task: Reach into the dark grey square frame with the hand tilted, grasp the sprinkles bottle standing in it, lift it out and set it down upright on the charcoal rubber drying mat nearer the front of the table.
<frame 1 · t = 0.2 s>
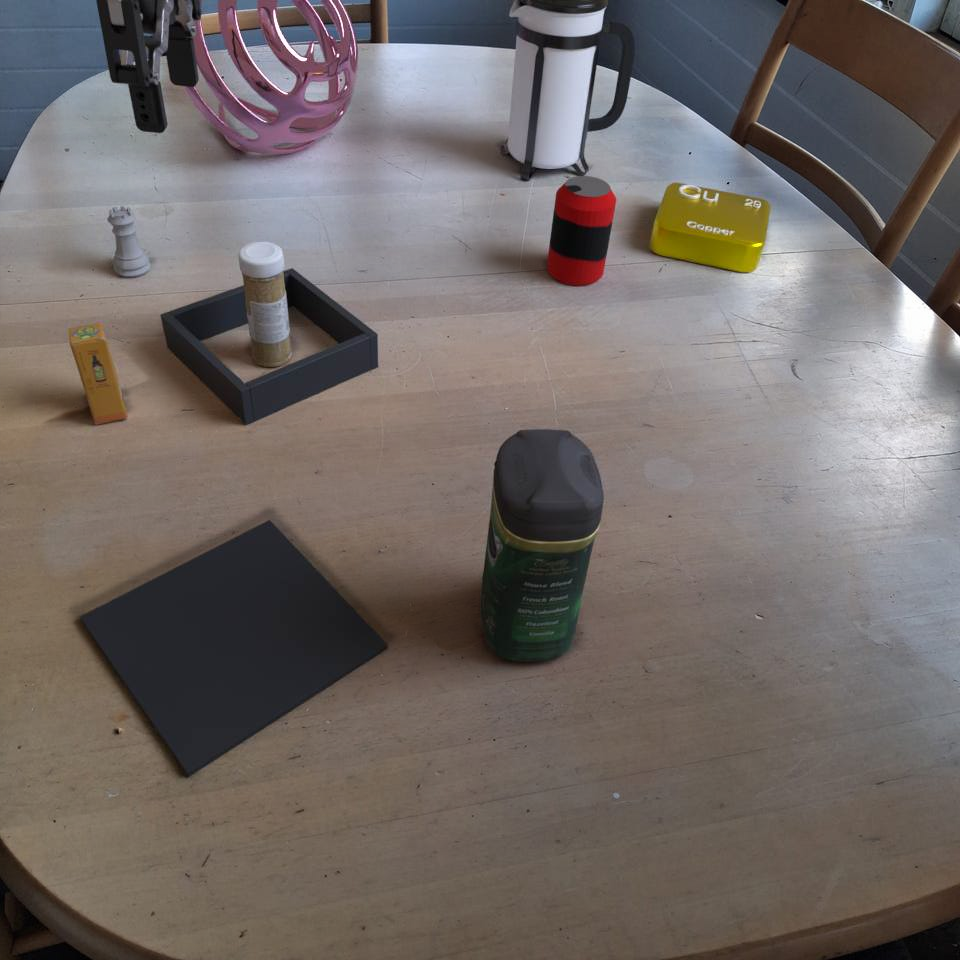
hand: (169, 106, 72), 32 cm above the table, tool pointing down, fingers open, 8 cm apart
drying mat: (234, 634, 74), on the table
coffee press: (549, 163, 144), on the table
rook chess piece: (133, 271, 114), on the table
sprinkles bottle: (272, 358, 102), resting in dark grey square frame
spiral basket: (278, 144, 143), on the table
element tile: (706, 241, 129), on the table
dark grey square frame: (272, 357, 102), on the table
supplement box: (110, 414, 94), on the table
coffee jar: (525, 621, 78), on the table
soda can: (574, 273, 120), on the table
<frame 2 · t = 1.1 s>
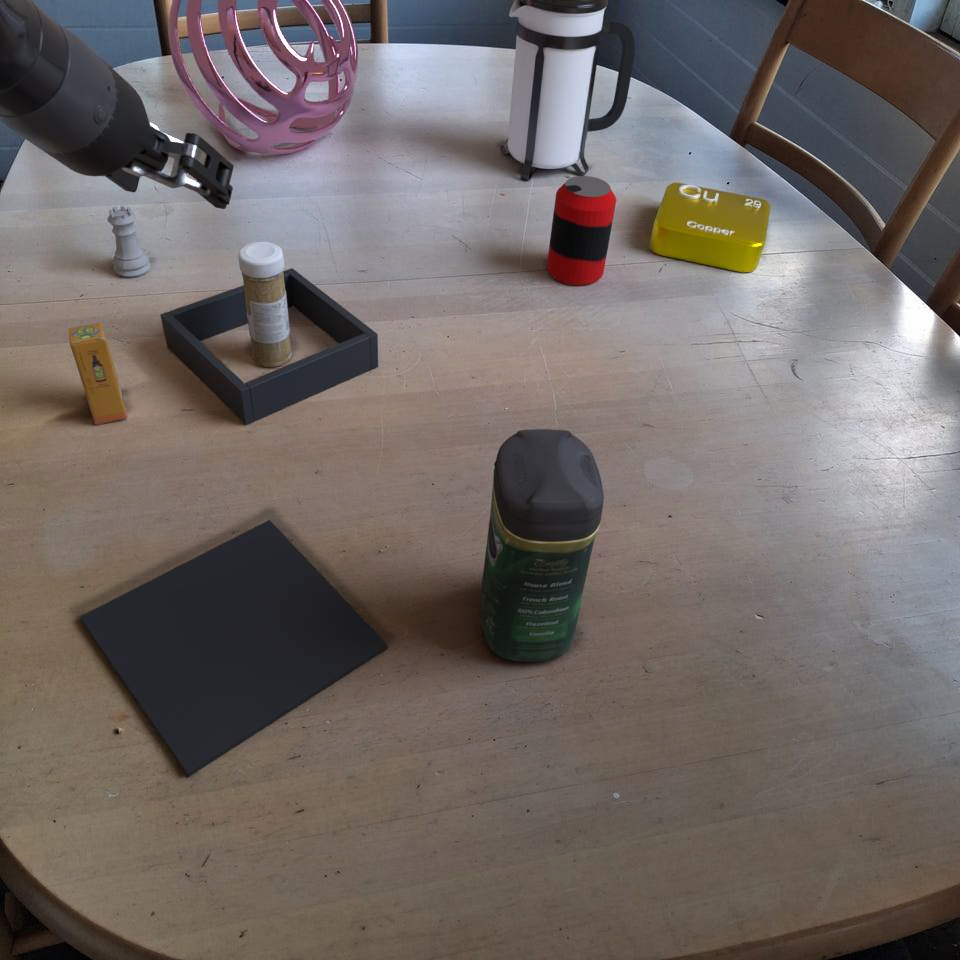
hand: (179, 189, 77), 25 cm above the table, tool tilted 45°, fingers open, 8 cm apart
nothing on the table moved.
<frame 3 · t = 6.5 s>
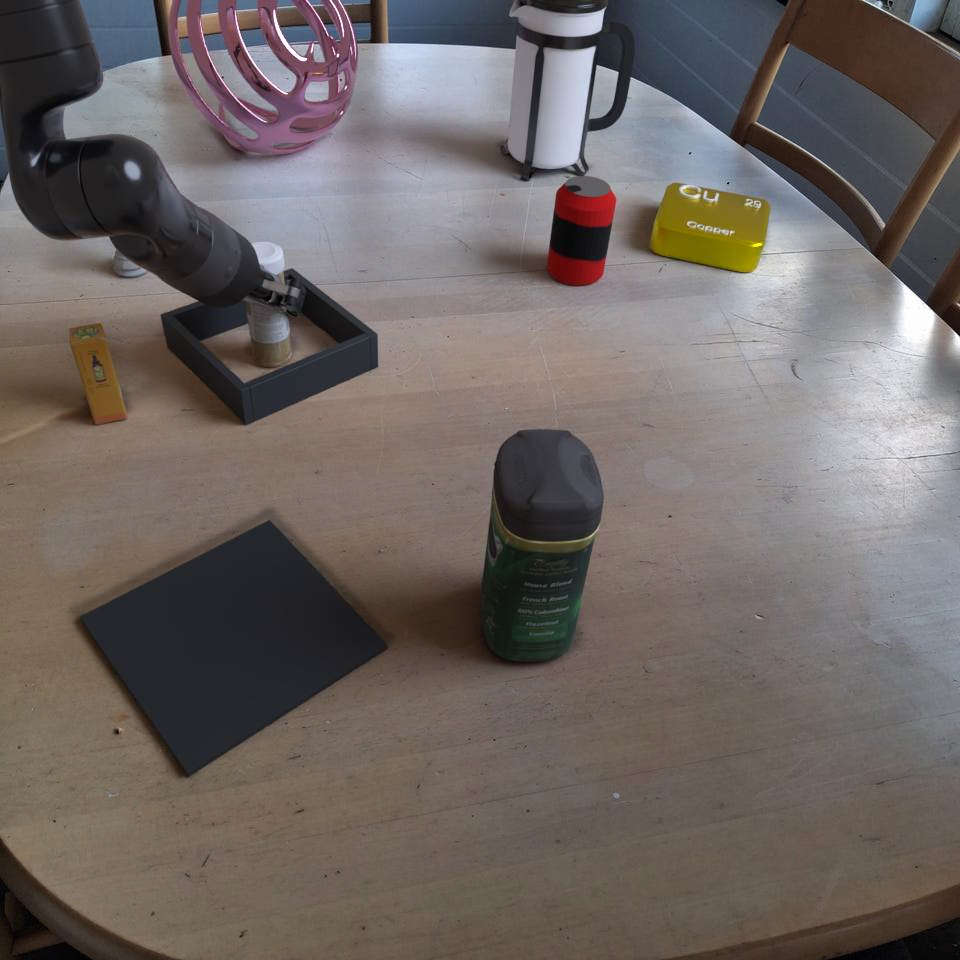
hand: (275, 302, 99), 6 cm above the table, tool tilted 45°, fingers closed on sprinkles bottle, 4 cm apart
sprinkles bottle: (272, 358, 102), resting in dark grey square frame, touching gripper
everything else where it was.
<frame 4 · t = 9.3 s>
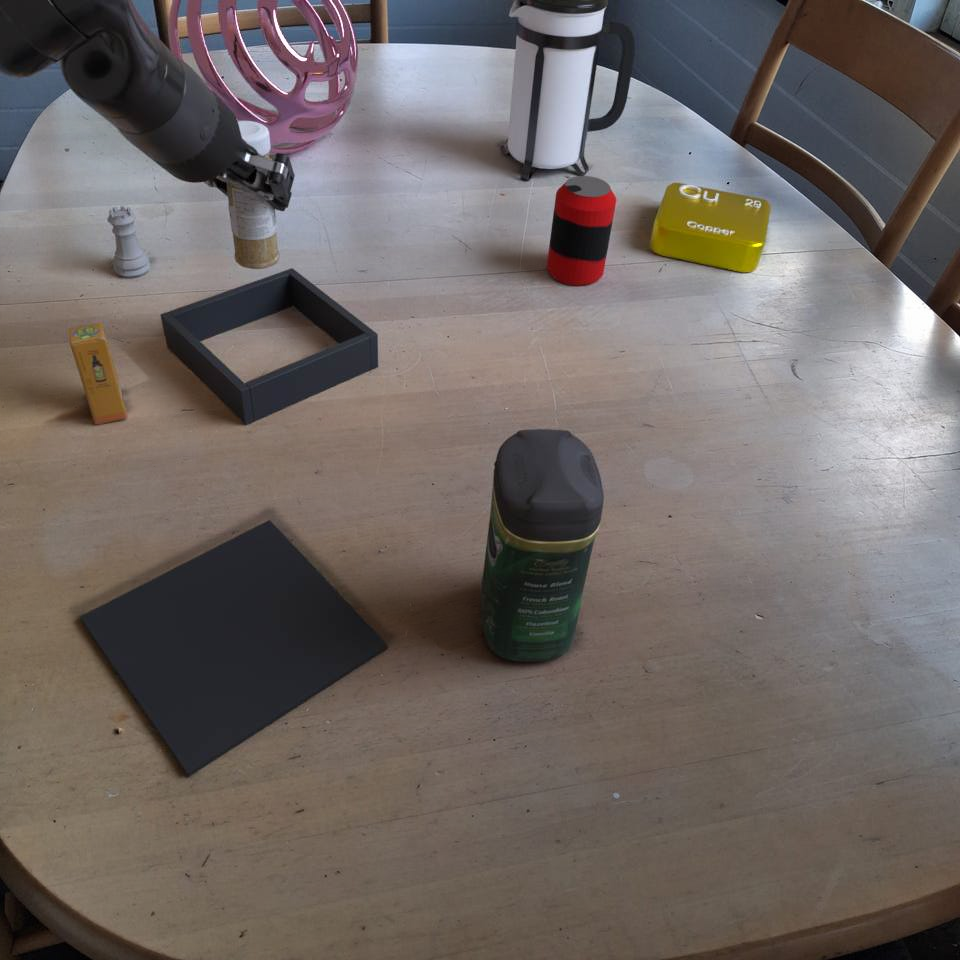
hand: (260, 195, 89), 19 cm above the table, tool tilted 45°, fingers closed on sprinkles bottle, 4 cm apart
sprinkles bottle: (257, 261, 92), point 13 cm above the table, touching gripper
everything else where it was.
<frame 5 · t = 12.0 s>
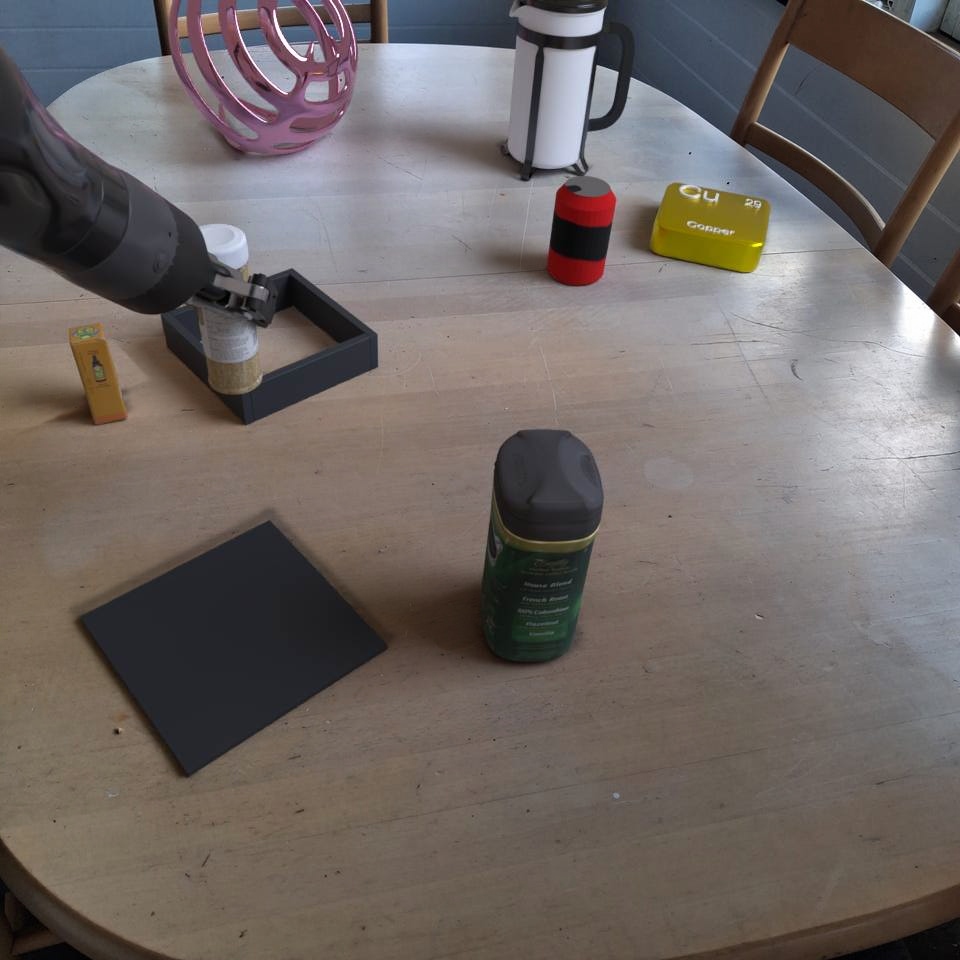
hand: (238, 308, 73), 20 cm above the table, tool tilted 45°, fingers closed on sprinkles bottle, 4 cm apart
sprinkles bottle: (236, 383, 76), point 14 cm above the table, touching gripper
everything else where it was.
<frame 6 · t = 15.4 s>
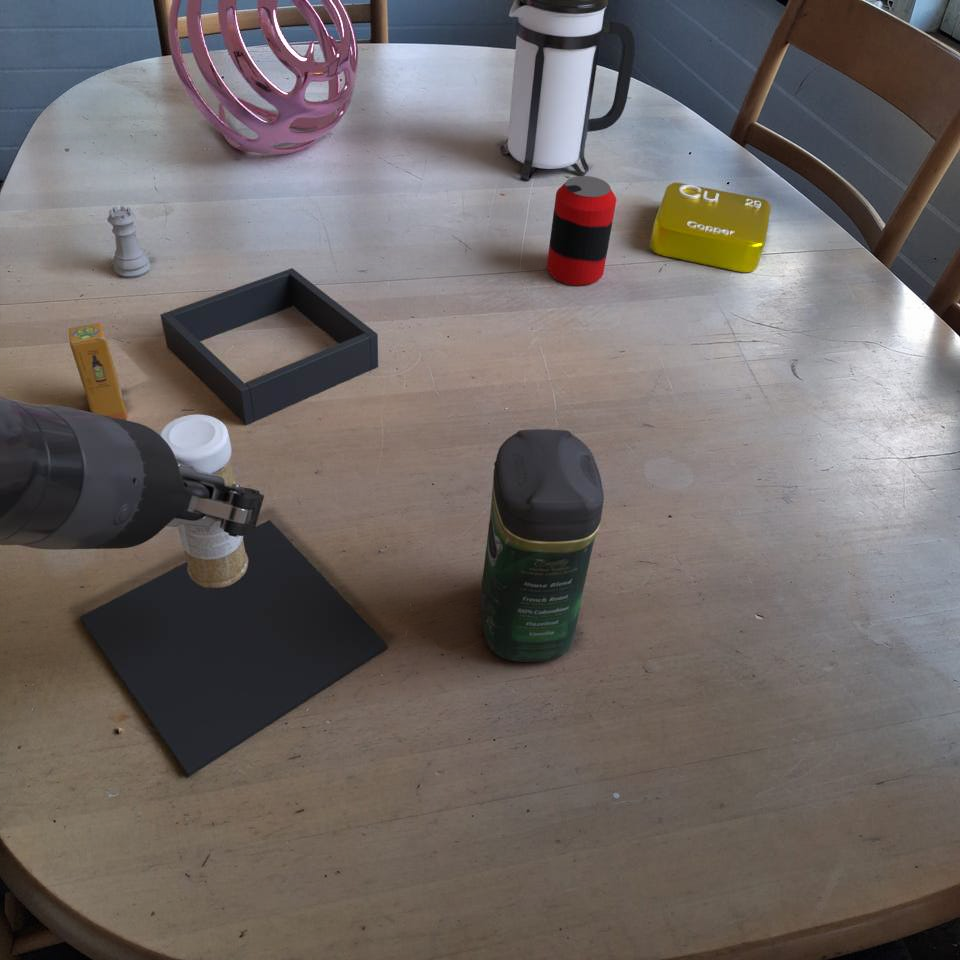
hand: (221, 495, 66), 15 cm above the table, tool tilted 45°, fingers closed on sprinkles bottle, 4 cm apart
sprinkles bottle: (219, 570, 69), point 8 cm above the table, touching gripper
everything else where it was.
when the fingers open (7 cm above the table, at t = 17.9 s): sprinkles bottle stays where it is, resting on drying mat.
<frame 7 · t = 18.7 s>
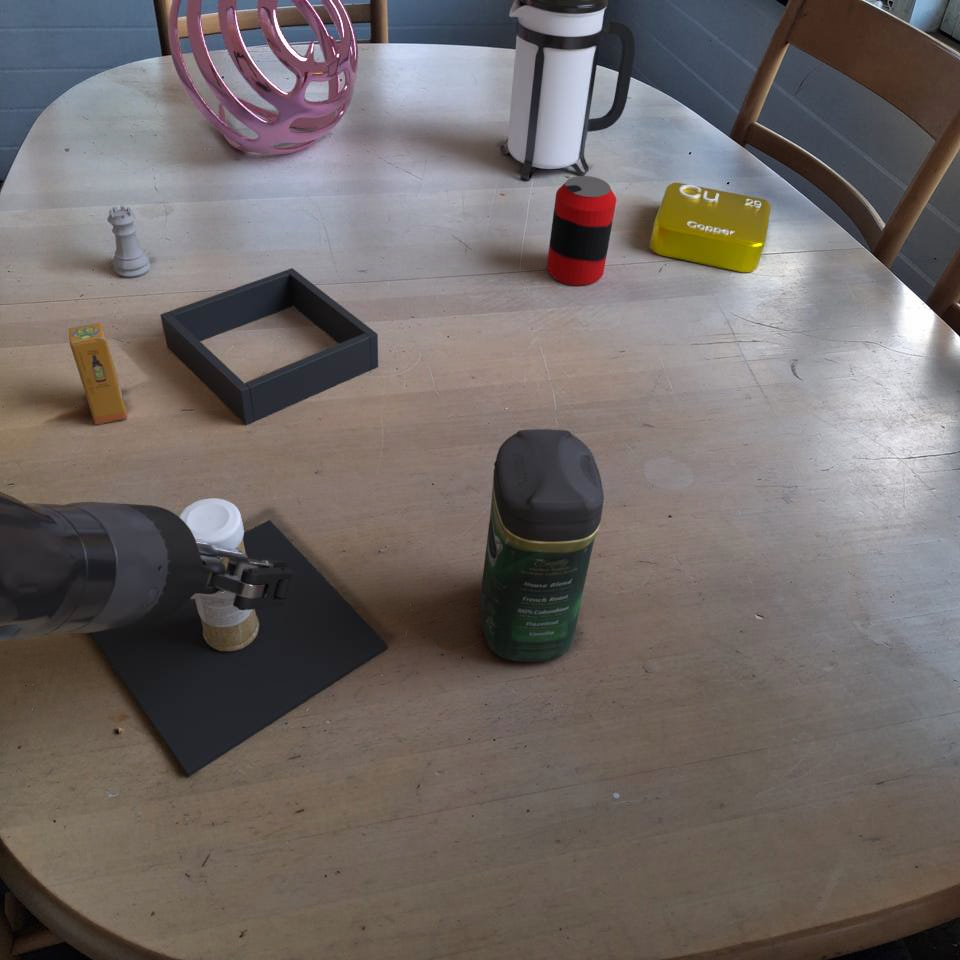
hand: (229, 558, 70), 8 cm above the table, tool tilted 45°, fingers open, 8 cm apart
sprinkles bottle: (232, 633, 74), resting on drying mat
everything else where it was.
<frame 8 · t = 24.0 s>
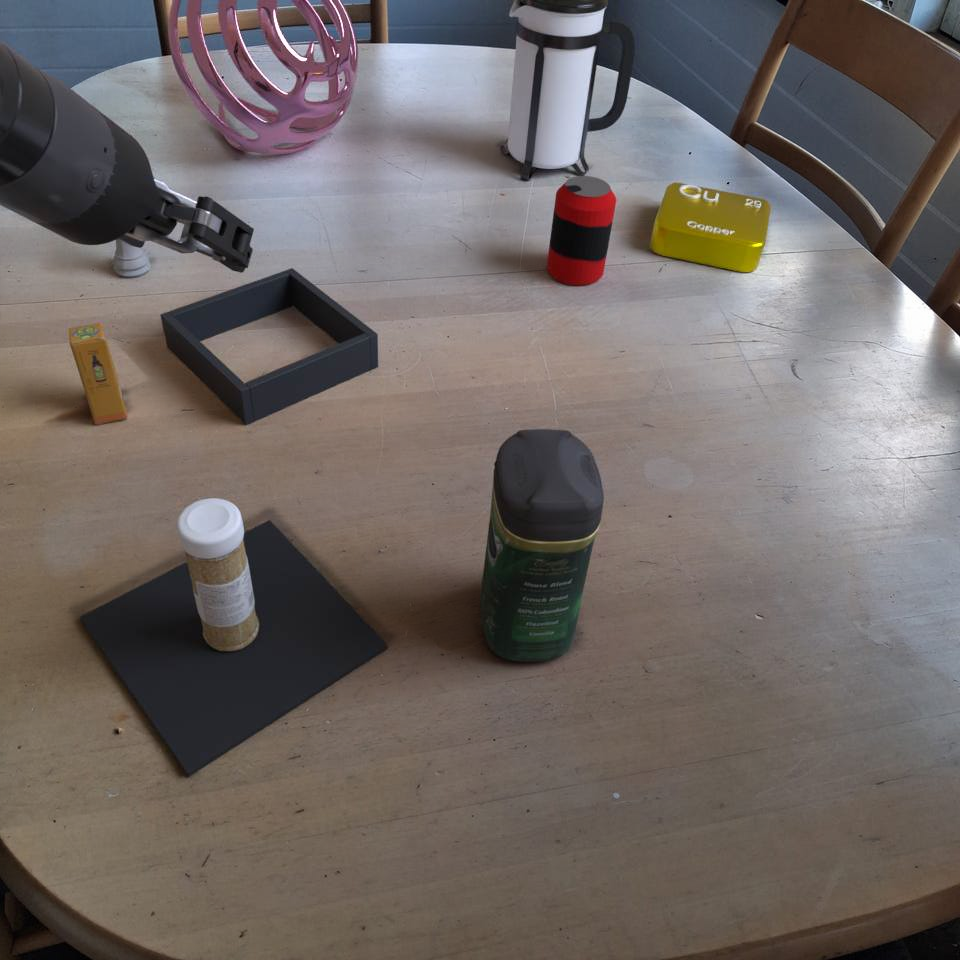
hand: (192, 246, 67), 27 cm above the table, tool tilted 45°, fingers open, 8 cm apart
nothing on the table moved.
at the end: sprinkles bottle inside the target area on the drying mat (0.2 cm from its centre), point 0.4 cm above the drying mat's base; sprinkles bottle tilted 0°; the gripper is holding nothing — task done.
